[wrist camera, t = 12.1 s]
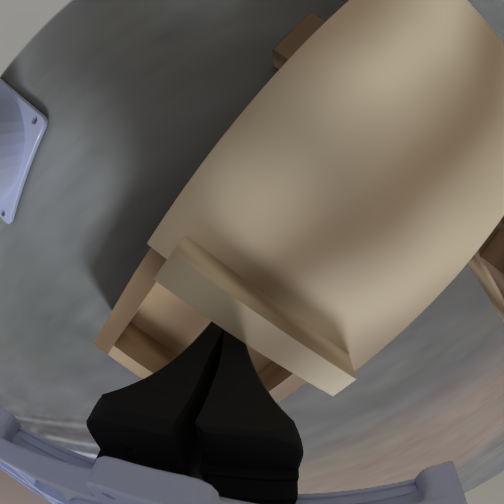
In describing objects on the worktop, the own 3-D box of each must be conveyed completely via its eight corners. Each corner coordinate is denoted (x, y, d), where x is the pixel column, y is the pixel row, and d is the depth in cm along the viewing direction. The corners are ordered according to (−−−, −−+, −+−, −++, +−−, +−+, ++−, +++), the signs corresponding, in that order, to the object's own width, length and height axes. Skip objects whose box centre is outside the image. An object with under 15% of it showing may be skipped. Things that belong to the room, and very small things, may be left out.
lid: (160, 231, 12) (128, 259, 9) (398, -35, 6) (424, -66, 4) (338, 358, 13) (348, 404, 10) (534, 126, 8) (574, 131, 5)
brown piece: (103, 306, 17) (80, 333, 14) (304, 32, 11) (312, 7, 8) (354, 449, 21) (358, 475, 18) (524, 305, 15) (544, 325, 12)
